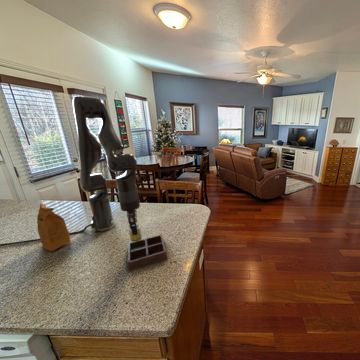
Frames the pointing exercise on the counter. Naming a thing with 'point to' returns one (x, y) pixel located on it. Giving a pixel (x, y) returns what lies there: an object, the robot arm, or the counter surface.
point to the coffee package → (51, 229)
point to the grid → (146, 252)
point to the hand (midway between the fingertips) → (135, 231)
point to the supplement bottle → (135, 237)
